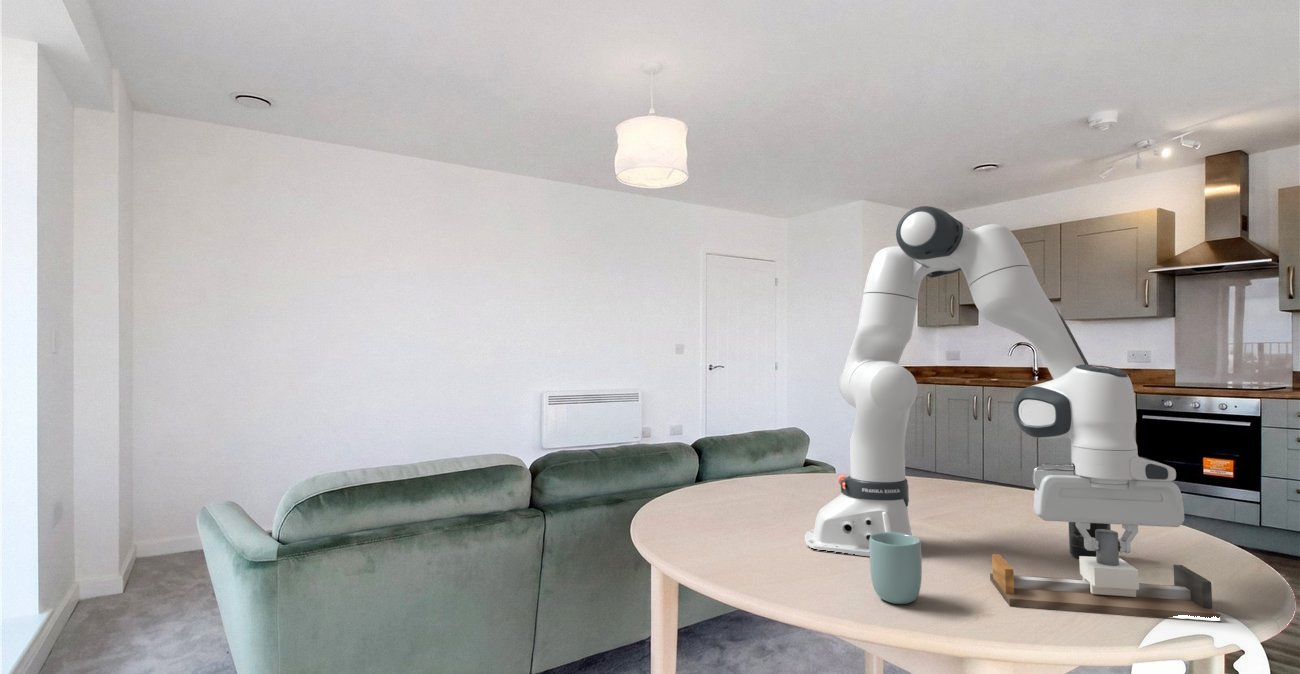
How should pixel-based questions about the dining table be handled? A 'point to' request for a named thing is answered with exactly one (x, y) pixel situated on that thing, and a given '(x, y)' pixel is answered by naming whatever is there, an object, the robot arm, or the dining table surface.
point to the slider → (1109, 568)
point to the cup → (895, 566)
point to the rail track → (1075, 595)
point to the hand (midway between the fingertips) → (1107, 550)
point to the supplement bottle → (1078, 540)
